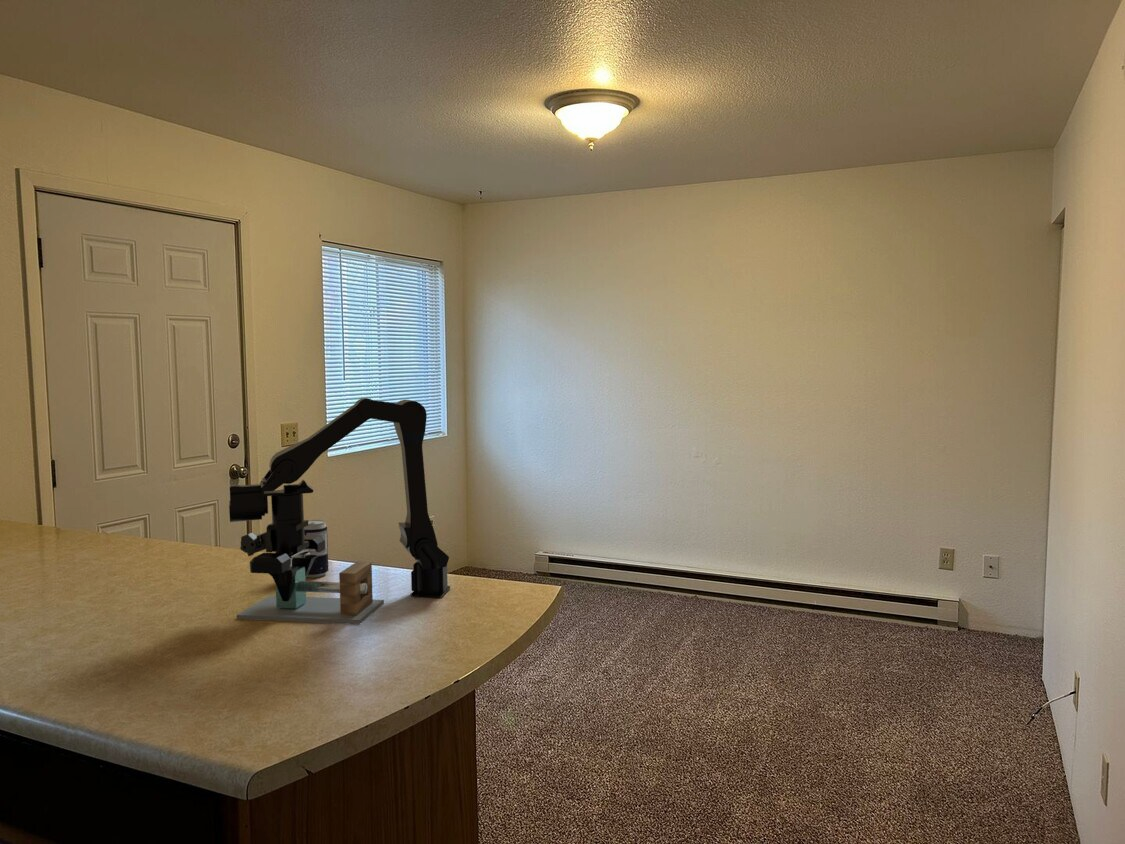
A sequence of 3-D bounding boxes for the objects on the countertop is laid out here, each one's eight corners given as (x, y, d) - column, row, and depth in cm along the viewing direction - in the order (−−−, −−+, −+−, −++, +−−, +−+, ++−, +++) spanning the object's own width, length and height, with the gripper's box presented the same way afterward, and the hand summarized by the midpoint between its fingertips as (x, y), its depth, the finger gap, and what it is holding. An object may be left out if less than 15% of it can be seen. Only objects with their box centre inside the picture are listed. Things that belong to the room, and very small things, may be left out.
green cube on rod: (370, 604, 150) (369, 568, 149) (361, 611, 146) (360, 574, 145) (286, 601, 152) (285, 565, 152) (276, 607, 148) (275, 571, 148)
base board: (384, 603, 154) (383, 599, 154) (359, 624, 142) (359, 620, 142) (269, 599, 157) (269, 595, 157) (236, 619, 145) (236, 614, 145)
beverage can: (332, 571, 177) (330, 519, 176) (322, 578, 172) (320, 524, 171) (308, 571, 178) (306, 519, 177) (297, 578, 172) (295, 524, 171)
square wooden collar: (372, 602, 152) (371, 562, 151) (356, 616, 144) (354, 573, 143) (358, 602, 152) (356, 561, 152) (340, 615, 144) (339, 573, 144)
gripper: (273, 507, 159) (276, 582, 160) (220, 527, 141) (224, 611, 142) (325, 508, 157) (327, 584, 159) (278, 528, 139) (282, 614, 140)
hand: (291, 597), depth 150 cm, fingers closed on green cube on rod, 4 cm apart
